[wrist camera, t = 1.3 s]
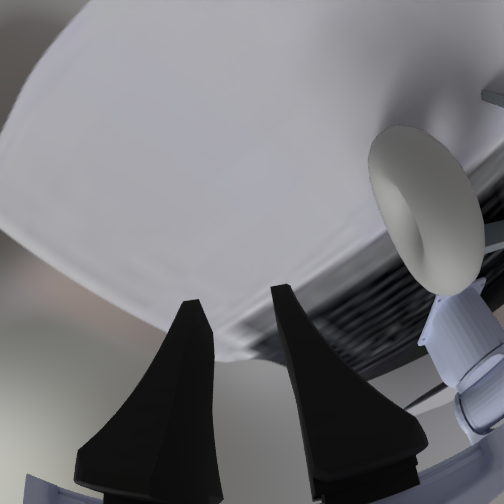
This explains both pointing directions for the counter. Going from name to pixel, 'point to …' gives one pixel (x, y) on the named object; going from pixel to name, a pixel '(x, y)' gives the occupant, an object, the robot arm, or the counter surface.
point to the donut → (427, 208)
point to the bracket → (500, 231)
